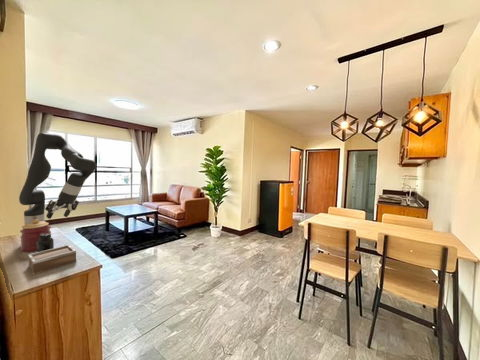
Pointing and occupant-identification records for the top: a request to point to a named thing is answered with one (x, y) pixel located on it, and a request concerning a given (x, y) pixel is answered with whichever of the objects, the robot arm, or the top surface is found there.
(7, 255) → the top surface
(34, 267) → the open rectangular tray
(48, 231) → the canister
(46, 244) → the supplement bottle
